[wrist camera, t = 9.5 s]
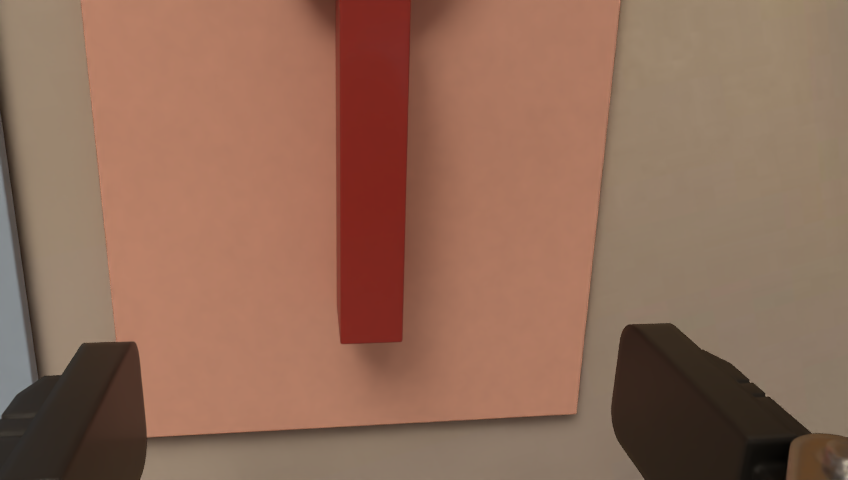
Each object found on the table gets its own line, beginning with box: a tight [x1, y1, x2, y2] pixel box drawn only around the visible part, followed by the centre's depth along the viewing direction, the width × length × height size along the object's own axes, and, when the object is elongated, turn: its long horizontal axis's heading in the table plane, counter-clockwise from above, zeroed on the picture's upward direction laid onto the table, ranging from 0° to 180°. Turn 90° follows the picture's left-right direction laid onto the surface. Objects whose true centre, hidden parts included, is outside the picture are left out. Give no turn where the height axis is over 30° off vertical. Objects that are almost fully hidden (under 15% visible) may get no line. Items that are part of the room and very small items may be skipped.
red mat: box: [81, 0, 621, 438], centre depth 18 cm, size 13×12×1 cm
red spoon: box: [335, 0, 411, 344], centre depth 16 cm, size 11×4×2 cm, turn 178°
